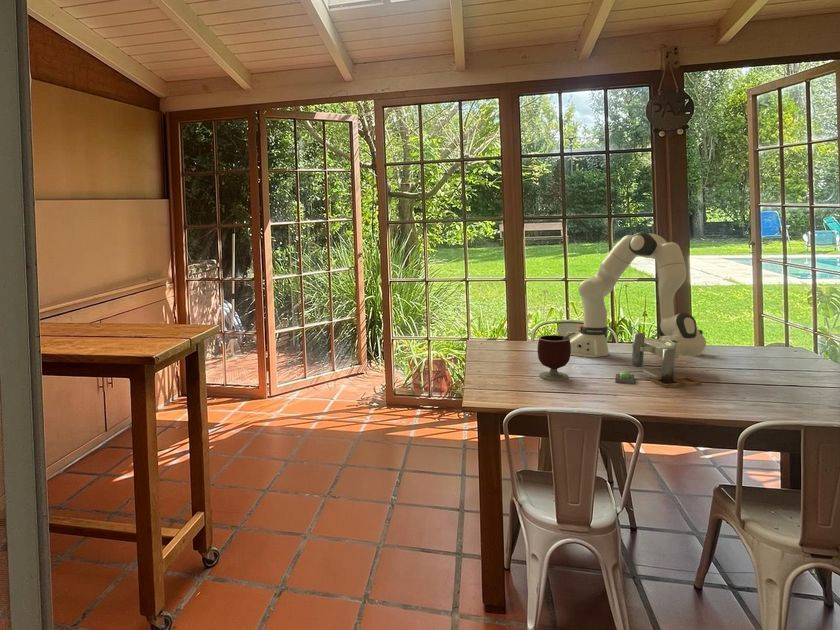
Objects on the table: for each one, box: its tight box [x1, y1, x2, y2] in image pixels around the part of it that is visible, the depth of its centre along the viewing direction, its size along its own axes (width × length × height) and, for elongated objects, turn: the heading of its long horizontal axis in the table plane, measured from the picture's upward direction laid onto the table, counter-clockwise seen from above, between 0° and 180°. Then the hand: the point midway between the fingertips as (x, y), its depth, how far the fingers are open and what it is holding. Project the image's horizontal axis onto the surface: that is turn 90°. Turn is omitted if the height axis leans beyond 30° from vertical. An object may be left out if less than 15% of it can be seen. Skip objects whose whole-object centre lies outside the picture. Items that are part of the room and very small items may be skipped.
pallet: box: [650, 375, 703, 389], centre depth 212 cm, size 16×9×2 cm, turn 97°
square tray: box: [619, 369, 659, 380], centre depth 226 cm, size 11×11×2 cm
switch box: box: [614, 373, 635, 385], centre depth 217 cm, size 7×7×3 cm
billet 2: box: [660, 348, 676, 384], centre depth 211 cm, size 4×4×14 cm
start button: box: [619, 371, 631, 378], centre depth 217 cm, size 4×4×4 cm
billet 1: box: [631, 332, 646, 368], centre depth 224 cm, size 4×4×14 cm
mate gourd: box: [537, 331, 576, 382], centre depth 229 cm, size 16×14×20 cm
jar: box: [687, 328, 704, 357], centre depth 262 cm, size 9×8×12 cm
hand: (636, 347), depth 224 cm, fingers closed on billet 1, 4 cm apart
